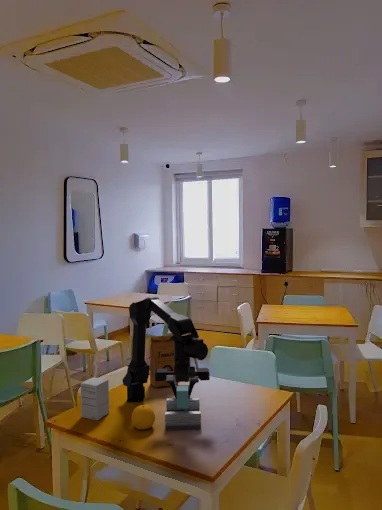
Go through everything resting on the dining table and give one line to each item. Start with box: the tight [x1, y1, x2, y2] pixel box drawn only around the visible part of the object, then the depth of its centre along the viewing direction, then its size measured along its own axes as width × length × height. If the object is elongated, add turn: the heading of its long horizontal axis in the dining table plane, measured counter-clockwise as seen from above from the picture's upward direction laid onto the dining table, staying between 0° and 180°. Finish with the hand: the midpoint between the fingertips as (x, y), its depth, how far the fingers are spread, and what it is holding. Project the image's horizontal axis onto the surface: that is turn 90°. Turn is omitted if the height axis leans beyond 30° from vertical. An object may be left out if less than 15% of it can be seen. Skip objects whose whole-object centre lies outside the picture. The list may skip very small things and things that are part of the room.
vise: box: [164, 408, 202, 431], centre depth 152 cm, size 12×18×5 cm, turn 1°
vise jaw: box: [166, 384, 200, 411], centre depth 159 cm, size 12×6×7 cm, turn 91°
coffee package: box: [149, 334, 180, 388], centre depth 188 cm, size 10×12×22 cm
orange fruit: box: [130, 404, 156, 430], centre depth 145 cm, size 8×8×8 cm
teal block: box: [177, 386, 189, 408], centre depth 149 cm, size 5×4×6 cm
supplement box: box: [80, 377, 110, 421], centre depth 156 cm, size 7×7×13 cm
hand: (182, 398), depth 149 cm, fingers closed on teal block, 4 cm apart
